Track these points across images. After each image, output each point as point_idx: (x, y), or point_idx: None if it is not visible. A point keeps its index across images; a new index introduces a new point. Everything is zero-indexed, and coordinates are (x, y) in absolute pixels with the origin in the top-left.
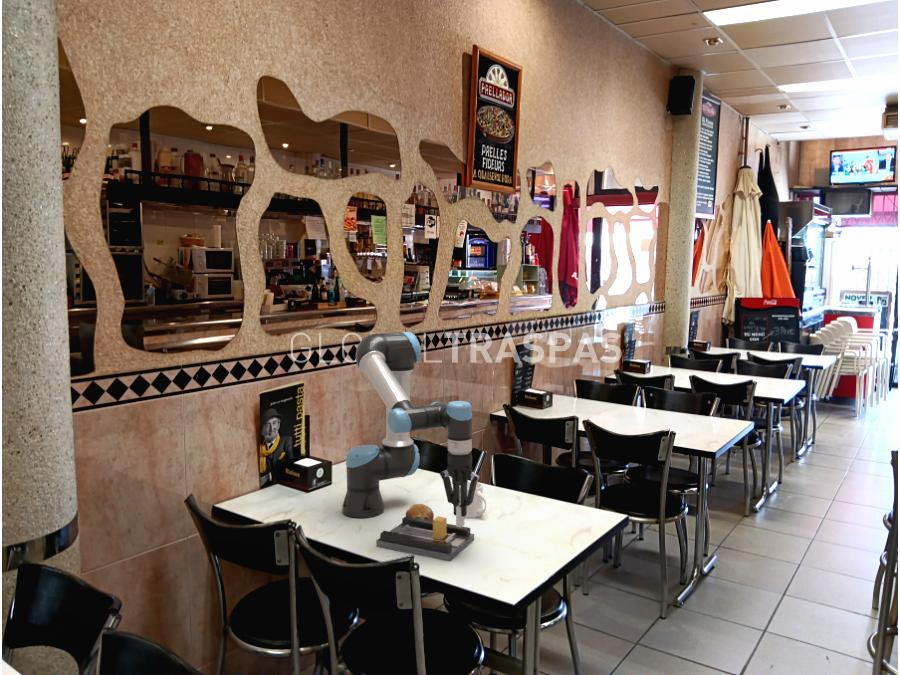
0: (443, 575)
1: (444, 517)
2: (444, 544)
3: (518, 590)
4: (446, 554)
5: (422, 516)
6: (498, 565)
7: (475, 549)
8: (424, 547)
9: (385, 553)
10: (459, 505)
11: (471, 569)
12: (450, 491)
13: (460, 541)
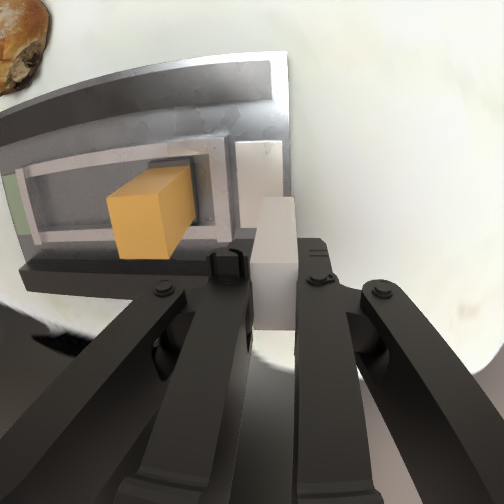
0: None
1: (145, 196)
2: None
3: (493, 336)
4: None
5: (12, 64)
6: (449, 242)
7: (335, 145)
8: None
9: (90, 304)
10: (268, 300)
11: None
12: (142, 396)
13: (272, 172)
